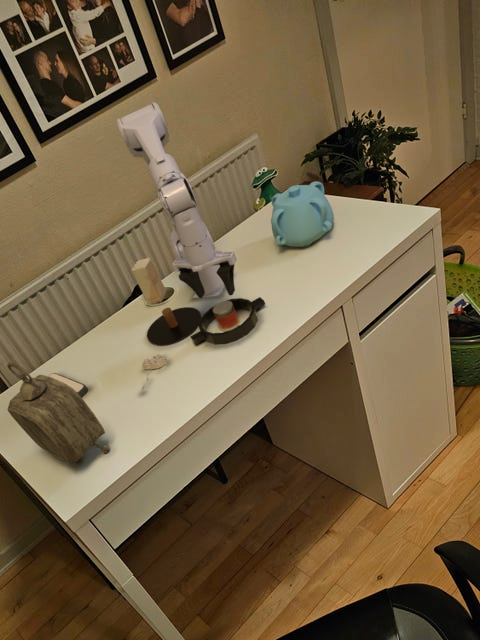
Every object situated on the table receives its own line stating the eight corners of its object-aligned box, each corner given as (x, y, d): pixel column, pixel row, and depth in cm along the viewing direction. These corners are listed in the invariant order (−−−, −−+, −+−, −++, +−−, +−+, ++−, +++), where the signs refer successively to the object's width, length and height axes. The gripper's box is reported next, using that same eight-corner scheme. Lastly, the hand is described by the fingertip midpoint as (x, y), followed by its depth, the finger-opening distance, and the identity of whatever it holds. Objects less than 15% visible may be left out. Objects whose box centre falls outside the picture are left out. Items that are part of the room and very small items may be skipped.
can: (224, 320, 131) (216, 301, 127) (243, 319, 128) (235, 299, 125) (217, 333, 128) (209, 314, 124) (236, 332, 125) (228, 312, 122)
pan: (186, 335, 132) (181, 324, 130) (252, 297, 134) (248, 286, 132) (206, 360, 122) (201, 349, 120) (278, 319, 124) (274, 307, 122)
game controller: (168, 355, 129) (163, 347, 127) (165, 387, 120) (161, 378, 119) (146, 362, 130) (141, 353, 128) (142, 394, 122) (137, 385, 120)
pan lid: (141, 331, 140) (131, 313, 137) (190, 303, 142) (182, 285, 138) (158, 356, 130) (148, 337, 126) (211, 326, 131) (202, 307, 128)
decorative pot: (280, 228, 155) (266, 181, 146) (336, 214, 149) (325, 165, 140) (274, 258, 144) (258, 210, 135) (334, 244, 139) (322, 193, 130)
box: (162, 303, 147) (144, 267, 140) (148, 305, 149) (130, 270, 141) (167, 291, 150) (150, 256, 143) (154, 294, 152) (136, 259, 145)
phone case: (30, 398, 136) (63, 415, 126) (26, 394, 135) (59, 410, 125) (56, 375, 139) (90, 389, 129) (53, 371, 138) (87, 384, 128)
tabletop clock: (119, 448, 111) (51, 355, 94) (88, 481, 107) (12, 390, 90) (78, 430, 120) (10, 342, 103) (48, 460, 116) (-28, 374, 99)
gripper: (157, 254, 114) (182, 307, 123) (218, 245, 107) (240, 302, 116) (170, 236, 118) (194, 289, 127) (230, 226, 111) (250, 283, 120)
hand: (217, 294), depth 122 cm, fingers open, 7 cm apart
